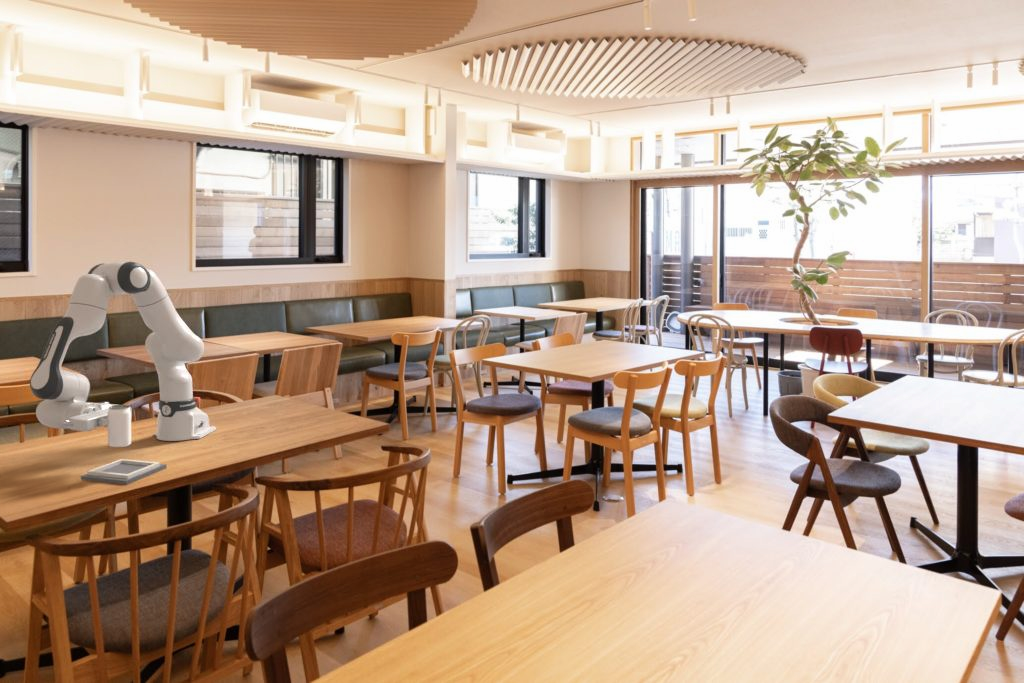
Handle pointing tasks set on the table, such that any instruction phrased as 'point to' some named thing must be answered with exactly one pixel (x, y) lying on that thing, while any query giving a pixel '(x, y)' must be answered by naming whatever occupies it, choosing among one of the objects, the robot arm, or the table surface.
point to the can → (119, 426)
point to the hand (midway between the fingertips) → (123, 420)
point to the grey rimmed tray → (123, 471)
